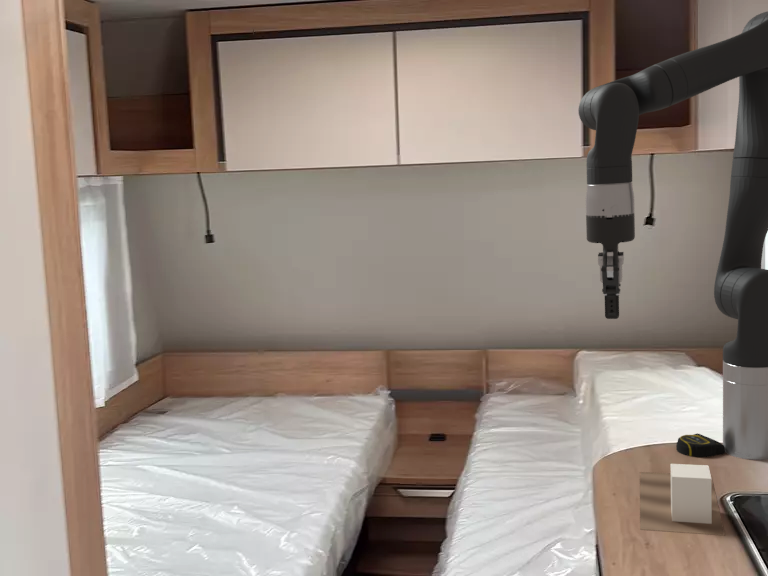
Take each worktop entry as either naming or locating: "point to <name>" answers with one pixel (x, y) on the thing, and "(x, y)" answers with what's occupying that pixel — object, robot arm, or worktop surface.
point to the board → (659, 508)
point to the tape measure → (699, 446)
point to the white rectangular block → (691, 493)
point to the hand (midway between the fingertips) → (612, 317)
